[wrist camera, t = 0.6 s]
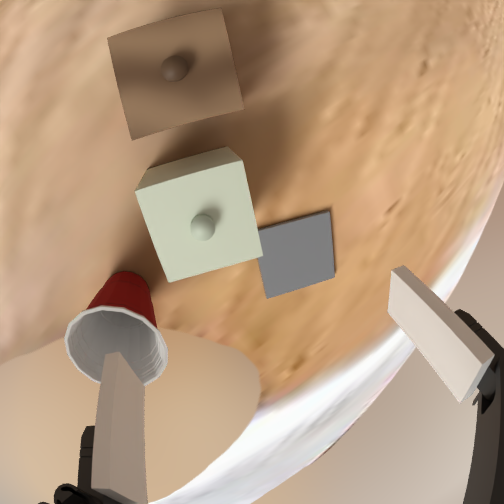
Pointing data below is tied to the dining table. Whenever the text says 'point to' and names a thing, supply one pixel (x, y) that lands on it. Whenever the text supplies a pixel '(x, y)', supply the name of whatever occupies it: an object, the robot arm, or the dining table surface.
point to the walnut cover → (175, 72)
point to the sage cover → (199, 213)
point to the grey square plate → (296, 254)
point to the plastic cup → (118, 330)
